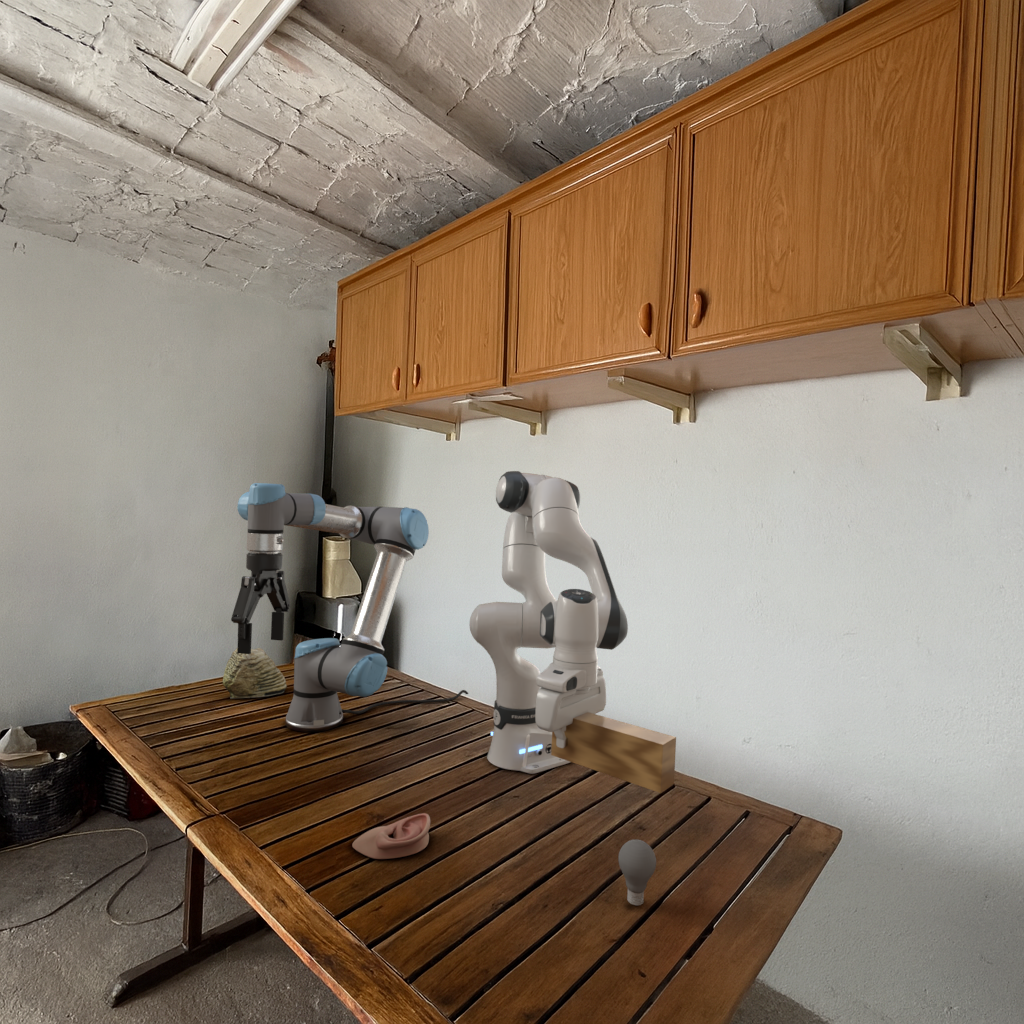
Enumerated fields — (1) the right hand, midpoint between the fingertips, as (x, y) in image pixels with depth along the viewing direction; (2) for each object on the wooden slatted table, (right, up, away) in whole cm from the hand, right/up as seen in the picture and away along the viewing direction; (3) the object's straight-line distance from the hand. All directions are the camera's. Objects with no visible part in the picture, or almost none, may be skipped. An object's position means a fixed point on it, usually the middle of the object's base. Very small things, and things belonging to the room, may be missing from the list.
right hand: (571, 742), depth 125 cm
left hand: (-68, +15, +17) cm, 72 cm away
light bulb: (+8, -18, -23) cm, 30 cm away
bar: (+7, -3, -6) cm, 9 cm away
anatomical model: (-34, -16, -9) cm, 38 cm away
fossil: (-92, -12, +73) cm, 118 cm away
